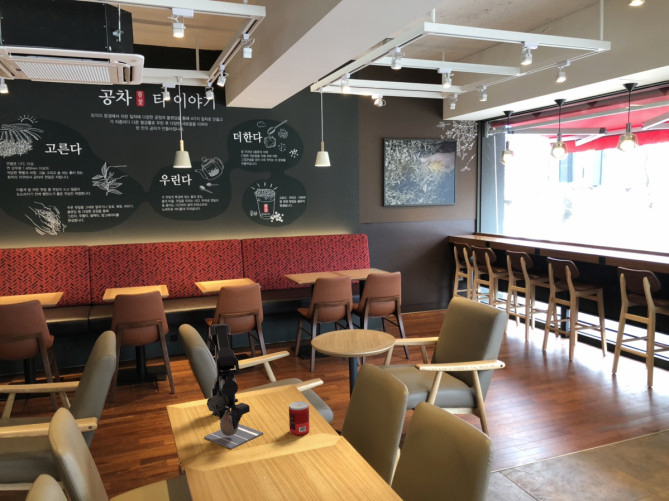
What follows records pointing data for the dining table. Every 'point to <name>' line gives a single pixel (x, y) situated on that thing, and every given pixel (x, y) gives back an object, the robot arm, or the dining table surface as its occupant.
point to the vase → (227, 424)
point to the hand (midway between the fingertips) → (229, 426)
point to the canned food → (299, 418)
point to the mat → (234, 437)
